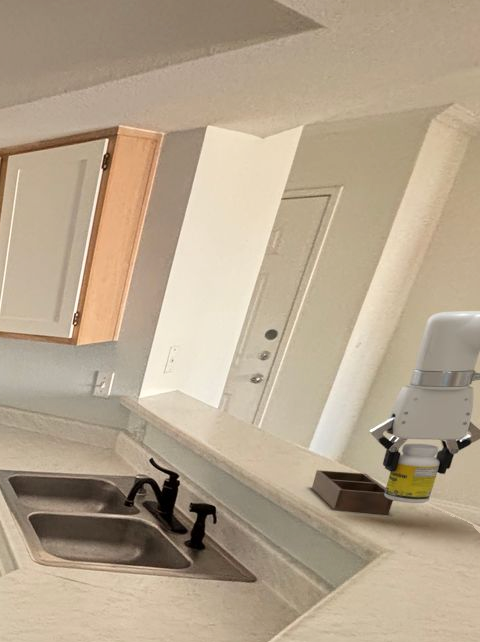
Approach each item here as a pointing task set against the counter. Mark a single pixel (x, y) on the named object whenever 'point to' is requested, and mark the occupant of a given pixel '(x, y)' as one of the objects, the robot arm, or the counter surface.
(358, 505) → the divided box
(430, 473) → the pill bottle
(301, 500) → the counter surface
